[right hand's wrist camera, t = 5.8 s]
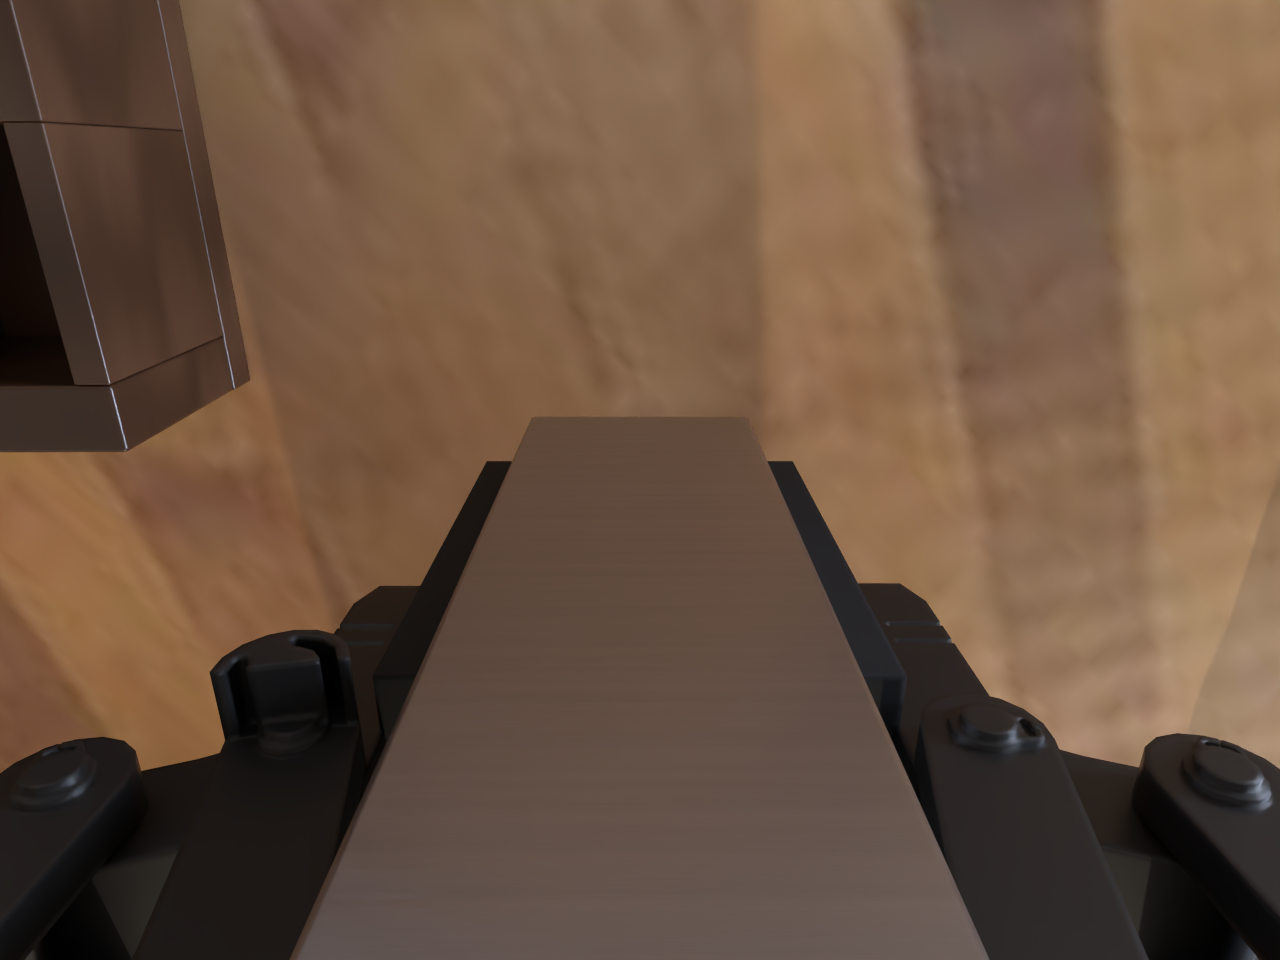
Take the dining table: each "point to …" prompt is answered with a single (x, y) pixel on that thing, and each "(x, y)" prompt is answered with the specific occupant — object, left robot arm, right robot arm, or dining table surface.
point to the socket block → (106, 230)
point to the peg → (639, 736)
